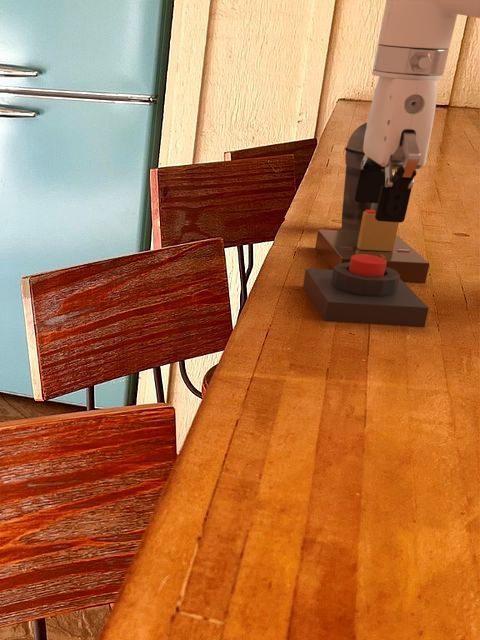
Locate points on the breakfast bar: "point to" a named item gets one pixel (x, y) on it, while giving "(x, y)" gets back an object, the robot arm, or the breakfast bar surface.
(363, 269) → the bell button
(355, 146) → the beverage cup
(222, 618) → the breakfast bar surface
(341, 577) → the breakfast bar surface
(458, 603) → the breakfast bar surface
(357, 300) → the dark grey button base
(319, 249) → the plate
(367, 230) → the lock turn
